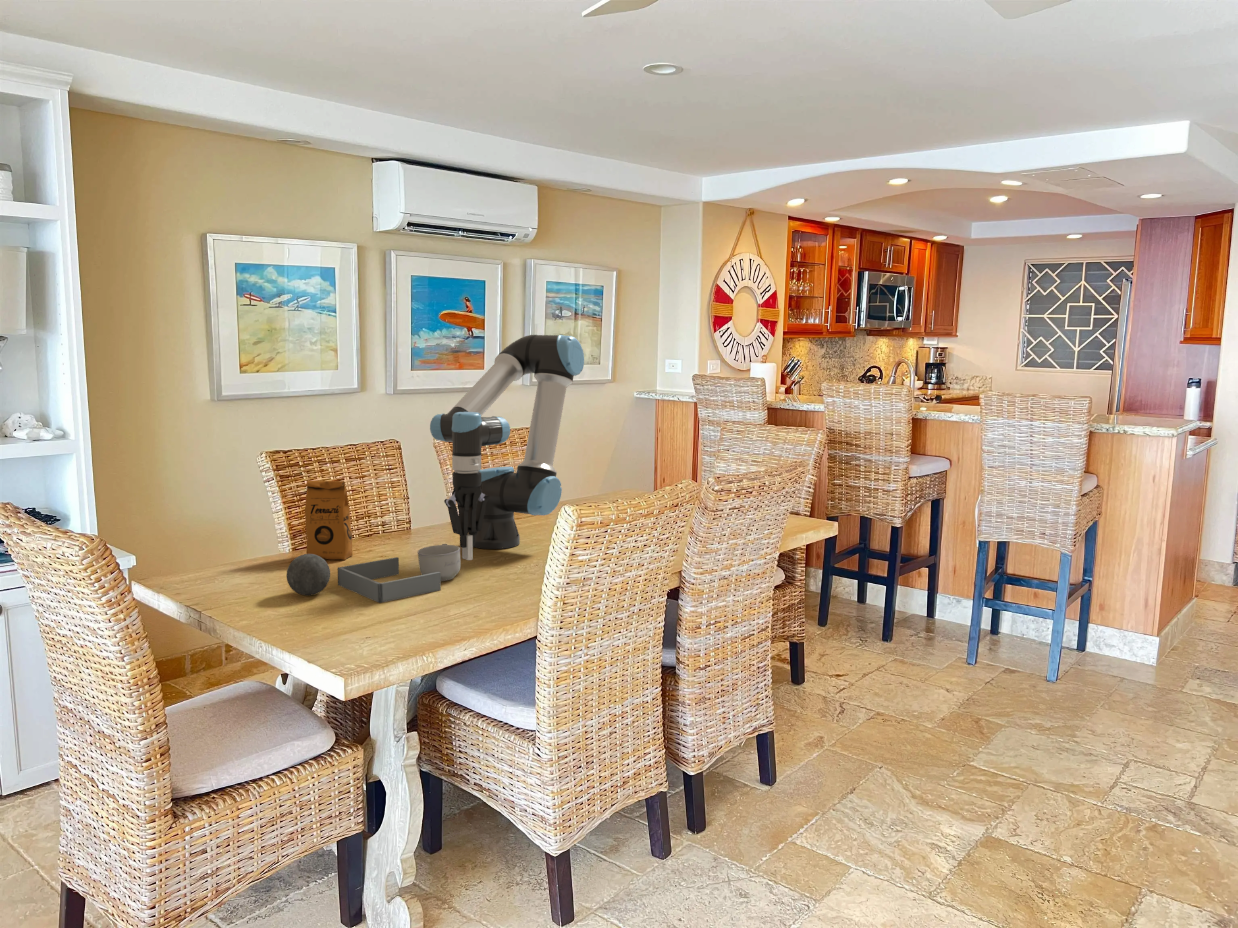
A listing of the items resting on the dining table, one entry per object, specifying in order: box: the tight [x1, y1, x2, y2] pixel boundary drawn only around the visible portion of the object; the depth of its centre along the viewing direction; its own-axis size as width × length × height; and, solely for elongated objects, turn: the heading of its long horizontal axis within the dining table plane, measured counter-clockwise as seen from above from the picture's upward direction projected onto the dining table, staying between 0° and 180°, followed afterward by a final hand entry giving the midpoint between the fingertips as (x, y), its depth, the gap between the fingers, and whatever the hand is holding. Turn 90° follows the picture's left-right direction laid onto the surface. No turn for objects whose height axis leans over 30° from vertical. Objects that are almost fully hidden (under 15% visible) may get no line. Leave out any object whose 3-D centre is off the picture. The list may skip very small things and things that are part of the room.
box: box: [337, 556, 442, 604], centre depth 232 cm, size 17×21×4 cm
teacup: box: [417, 543, 461, 582], centre depth 242 cm, size 14×11×8 cm
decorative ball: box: [286, 553, 331, 597], centre depth 224 cm, size 10×10×10 cm
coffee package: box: [304, 479, 354, 561], centre depth 260 cm, size 10×12×22 cm
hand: (467, 558), depth 247 cm, fingers closed
